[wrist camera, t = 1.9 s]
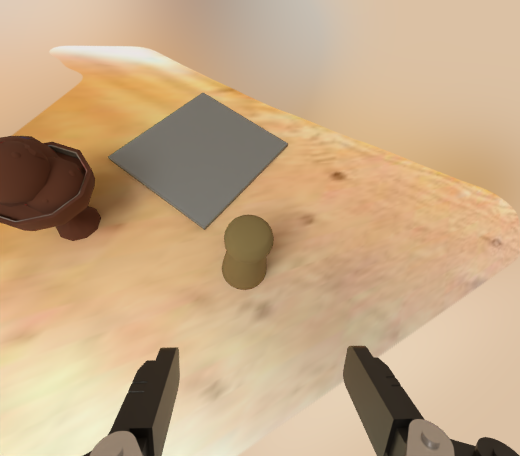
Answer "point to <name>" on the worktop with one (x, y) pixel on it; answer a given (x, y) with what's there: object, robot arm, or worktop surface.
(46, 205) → the ice cream bowl
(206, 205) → the charcoal mat
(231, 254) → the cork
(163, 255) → the worktop surface
